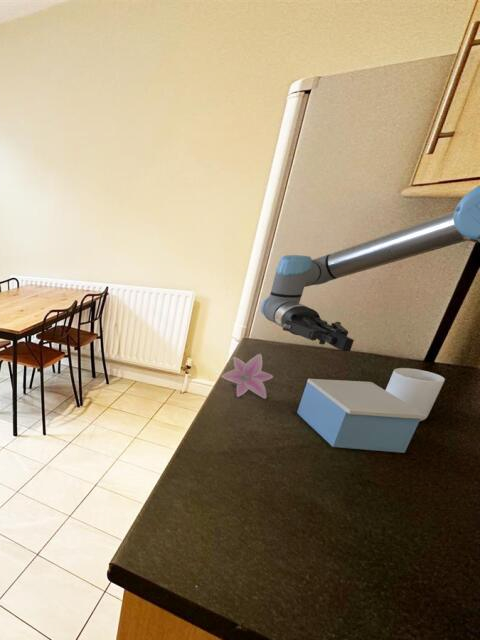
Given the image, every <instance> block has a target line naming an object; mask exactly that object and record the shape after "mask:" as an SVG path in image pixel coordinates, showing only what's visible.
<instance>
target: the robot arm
mask: <svg viewBox="0 0 480 640" xmlns="http://www.w3.org/2000/svg"><path fill="white" fill-rule="evenodd" d="M463 242H472V243H475V244H476V243H480V184H479V185H477V186H476V187H474V188H472V189H471V190H470V191H468V192H467V193H466V194H465V195H464V196H462V198H461V199H460V201H459V202H458V203H457V205H456V207H455V209H454V211H450V212H448V213H445V214H443V215H440V216H437V217H434V218H431V219H428V220H425V221H422V222H419V223H416V224H413V225H409V226H408V227H404V228H402V229H399V230H396V231H393V232H390V233H386V234H383V235H381V236H378V237H375V238H373V239H370V240H366V241H364V242H360V243H358V244H355V245H352V246H349V247H347V248H343V249H340V250H338V251H335V252H332V253H329V254H326V255H323V256H320V257H317V258H314V259H312V257H311V256H309V255H299V254H298V255H297V254H294V255H293V254H291V255H289V254H287V255H283V256H282V257H280V259H279V261H278V263H277V264H278V265H277V267H276V268H275V274H274V278H273V282H272V286H271V290H270V293H269V296H268V297H266V298H265V299H264V300H263V301H262V303H261V305H260V313H261V314H262V316H263V317H264V318H265V319H267V320H269V321H270V322H272V323H274V324H275V325H277V326H279V327H280V328H282V331H284V332H285V331H286V332H289V333H291V334H292V335H295V336H300V337H302V338H305V339H307V340H310V341H317V340H318V344H319V345H325V344H326V343H327V344H329V345H331V346H332V347H334V348H336V349H337V350H340V351H341V352H351V350H352V347H353V344H354V341H355V339H353V338H351V337H350V336H348V335H349V330H347V328H346V327H344V326H343V325H342V322H340V321H335V322H331V323H328V321H327V320H323V319H322V318H321V317H320V314H319V313H318V312H317V310H315V309H313V308H310V307H309V306H307V305H305V304H302V303H301V299H302V296H303V294H304V290H305V288H306V287H307V288H308V287H310V286H318V285H322V284H326V283H328V282H331V281H334V280H337V279H340V278H344V277H347V276H350V275H354V274H357V273H360V272H365V271H367V270H371V269H374V268H377V267H381V266H385V265H388V264H391V263H396V262H399V261H402V260H406V259H409V258H412V257H416V256H418V255H423V254H427V253H429V252H433V251H436V250H439V249H443V248H447V247H450V246H453V245H456V244H460V243H463Z"/></svg>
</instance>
